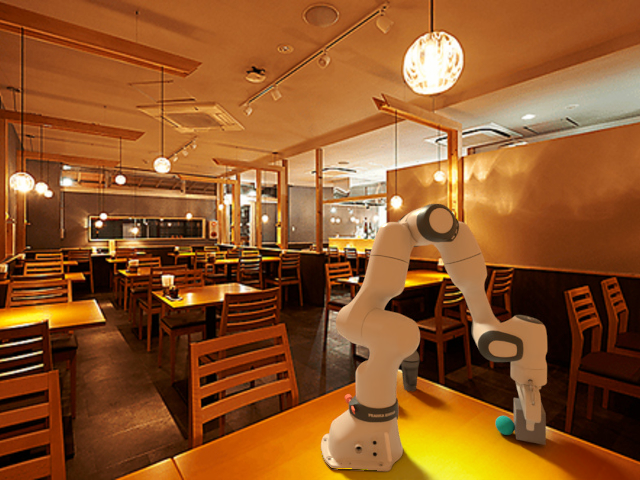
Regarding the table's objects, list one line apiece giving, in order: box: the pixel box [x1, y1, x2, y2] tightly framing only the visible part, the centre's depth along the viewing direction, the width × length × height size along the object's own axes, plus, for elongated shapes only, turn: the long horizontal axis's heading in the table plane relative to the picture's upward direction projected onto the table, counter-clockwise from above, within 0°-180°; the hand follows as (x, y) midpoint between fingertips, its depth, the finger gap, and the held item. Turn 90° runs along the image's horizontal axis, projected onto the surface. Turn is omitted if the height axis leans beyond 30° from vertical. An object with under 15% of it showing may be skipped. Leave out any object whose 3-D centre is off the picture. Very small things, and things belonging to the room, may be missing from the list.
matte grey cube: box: [513, 397, 547, 446], centre depth 99 cm, size 7×7×9 cm
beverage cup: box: [400, 349, 421, 392], centre depth 130 cm, size 7×7×20 cm
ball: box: [495, 415, 515, 436], centre depth 102 cm, size 5×5×5 cm
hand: (527, 421), depth 99 cm, fingers closed on matte grey cube, 7 cm apart
